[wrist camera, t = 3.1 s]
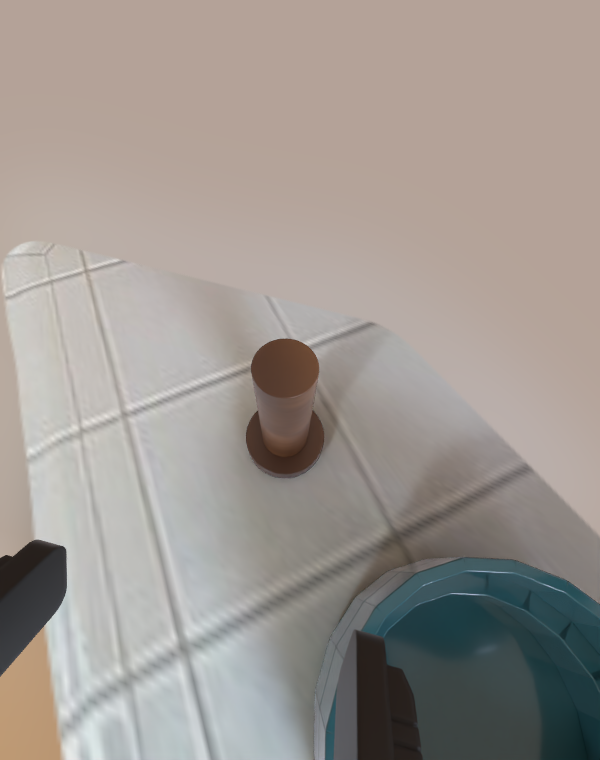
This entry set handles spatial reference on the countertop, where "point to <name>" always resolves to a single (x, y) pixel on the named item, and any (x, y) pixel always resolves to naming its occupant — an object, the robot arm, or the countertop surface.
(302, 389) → the brown wooden peg
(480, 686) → the bowl
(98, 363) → the countertop surface
